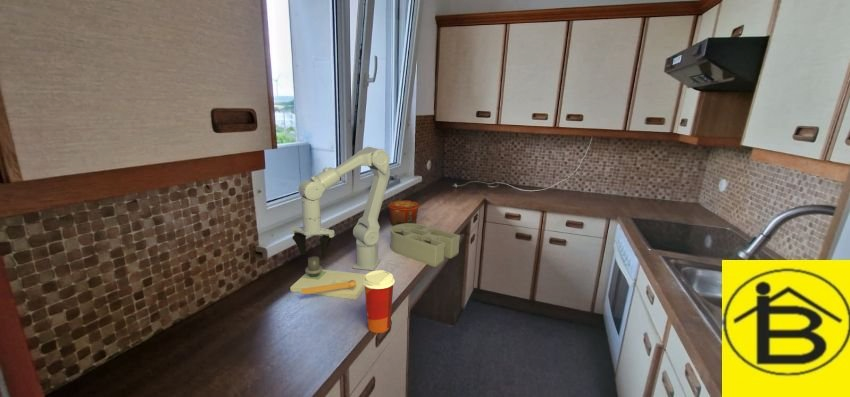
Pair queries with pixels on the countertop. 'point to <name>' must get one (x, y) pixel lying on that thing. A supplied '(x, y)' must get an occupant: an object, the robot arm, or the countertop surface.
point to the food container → (403, 212)
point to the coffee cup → (378, 300)
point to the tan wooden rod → (329, 287)
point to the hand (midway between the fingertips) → (313, 255)
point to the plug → (313, 267)
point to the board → (331, 278)
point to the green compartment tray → (424, 243)
